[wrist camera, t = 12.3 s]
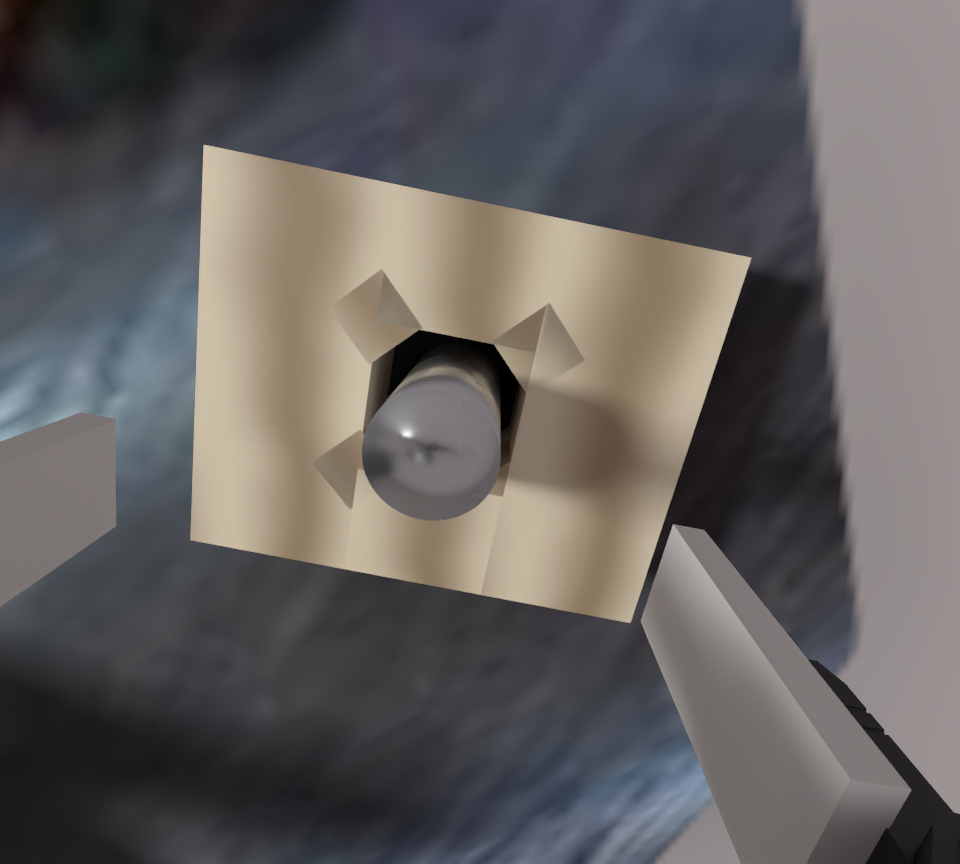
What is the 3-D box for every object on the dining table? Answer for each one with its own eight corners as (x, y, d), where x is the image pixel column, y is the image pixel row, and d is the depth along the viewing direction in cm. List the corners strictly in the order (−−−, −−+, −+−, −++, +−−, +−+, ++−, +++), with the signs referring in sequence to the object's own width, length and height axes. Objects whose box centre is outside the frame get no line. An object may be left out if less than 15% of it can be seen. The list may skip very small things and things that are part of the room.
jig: (241, 493, 29) (190, 539, 24) (262, 168, 24) (203, 144, 19) (609, 564, 29) (630, 622, 24) (702, 258, 24) (751, 257, 20)
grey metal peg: (405, 421, 27) (354, 506, 18) (418, 334, 26) (370, 377, 16) (491, 437, 27) (486, 531, 18) (508, 352, 26) (513, 404, 16)
